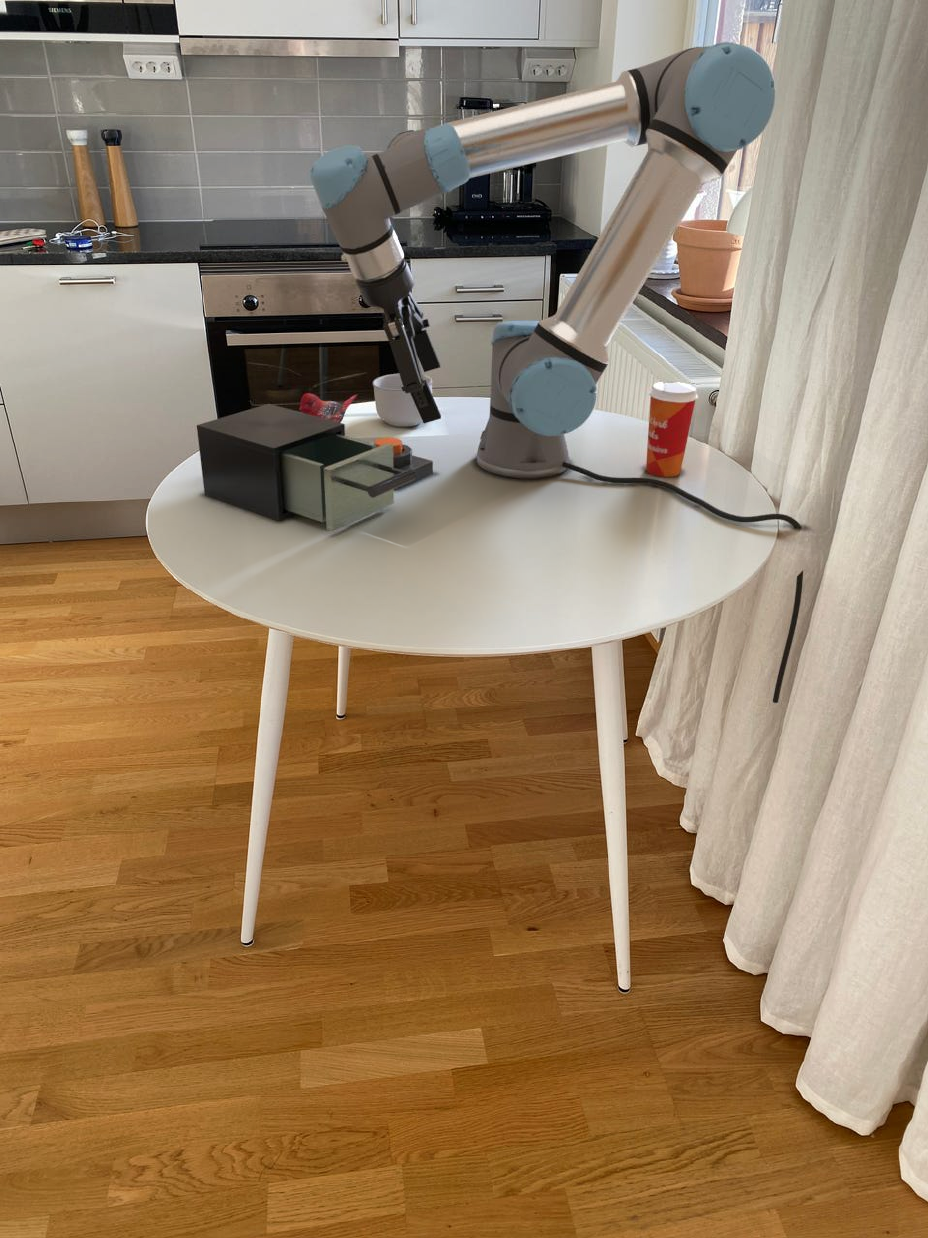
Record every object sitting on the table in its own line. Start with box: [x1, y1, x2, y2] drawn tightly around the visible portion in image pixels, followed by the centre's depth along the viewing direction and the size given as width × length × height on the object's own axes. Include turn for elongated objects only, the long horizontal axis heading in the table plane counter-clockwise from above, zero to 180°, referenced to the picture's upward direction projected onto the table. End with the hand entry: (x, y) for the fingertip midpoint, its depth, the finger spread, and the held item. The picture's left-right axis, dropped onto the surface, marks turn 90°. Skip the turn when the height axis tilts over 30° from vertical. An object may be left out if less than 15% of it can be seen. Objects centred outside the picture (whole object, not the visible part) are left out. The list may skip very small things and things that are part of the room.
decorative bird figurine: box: [298, 392, 358, 423], centre depth 161 cm, size 3×18×10 cm, turn 154°
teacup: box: [372, 373, 433, 428], centre depth 174 cm, size 14×11×8 cm
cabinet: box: [196, 403, 346, 522], centre depth 139 cm, size 16×14×11 cm
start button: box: [373, 436, 403, 455], centre depth 148 cm, size 4×4×2 cm
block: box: [393, 443, 434, 490], centre depth 149 cm, size 11×9×4 cm
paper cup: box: [645, 381, 699, 478], centre depth 151 cm, size 8×8×14 cm
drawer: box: [279, 433, 416, 532], centre depth 132 cm, size 21×13×9 cm, turn 54°
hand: (432, 393), depth 143 cm, fingers open, 13 cm apart
